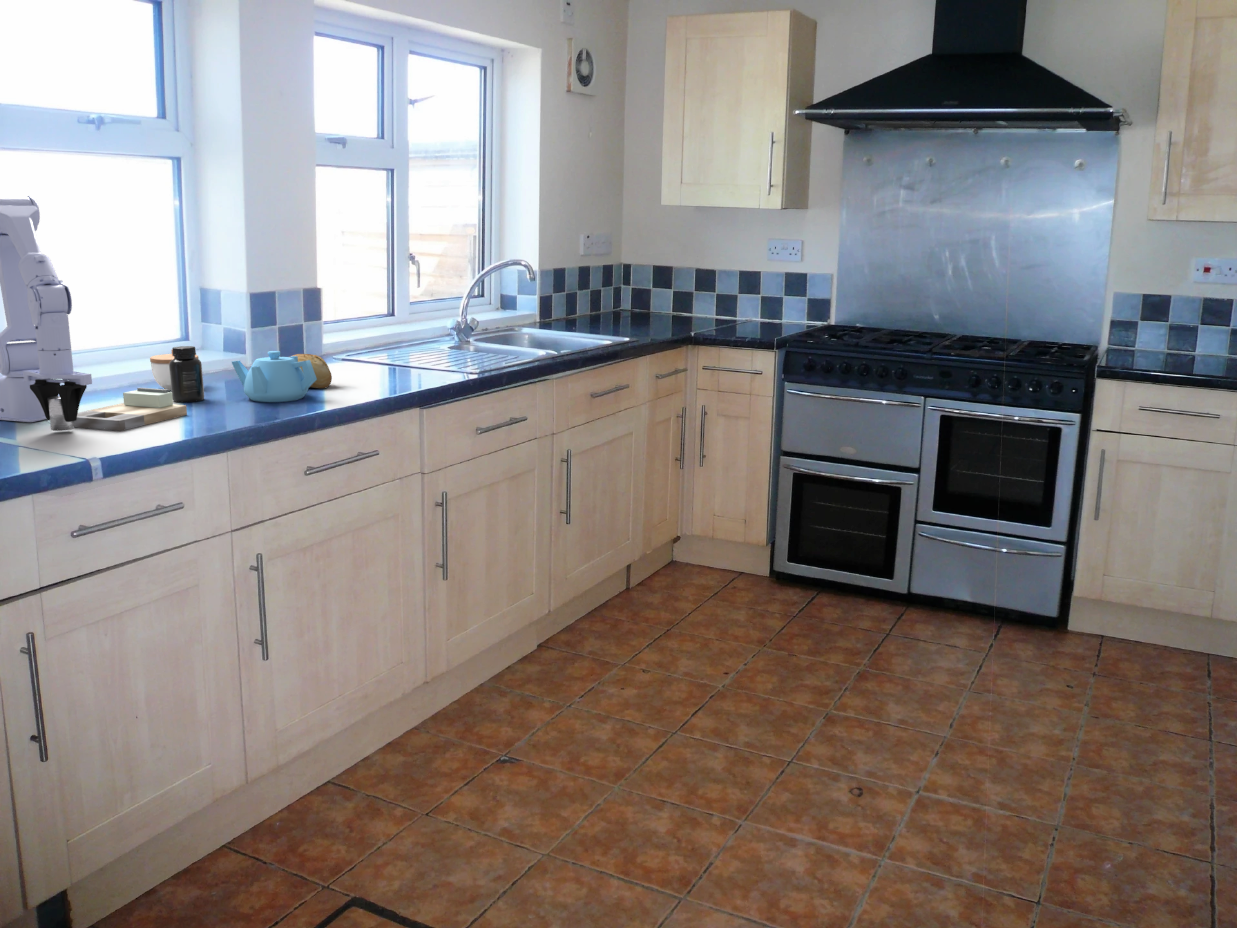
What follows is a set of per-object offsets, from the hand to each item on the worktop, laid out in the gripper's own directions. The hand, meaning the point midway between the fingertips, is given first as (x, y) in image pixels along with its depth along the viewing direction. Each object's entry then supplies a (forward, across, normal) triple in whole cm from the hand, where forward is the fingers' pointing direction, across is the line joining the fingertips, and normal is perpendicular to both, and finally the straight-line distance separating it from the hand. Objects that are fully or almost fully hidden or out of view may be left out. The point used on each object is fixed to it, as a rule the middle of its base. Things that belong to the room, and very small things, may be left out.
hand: (61, 420), depth 214 cm
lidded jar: (+3, -17, +52) cm, 55 cm away
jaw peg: (+2, 0, 0) cm, 2 cm away
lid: (0, +2, +21) cm, 21 cm away
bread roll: (+3, +9, +66) cm, 67 cm away
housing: (+2, +2, +15) cm, 15 cm away
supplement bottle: (+3, -3, +39) cm, 39 cm away
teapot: (+3, +13, +49) cm, 51 cm away
